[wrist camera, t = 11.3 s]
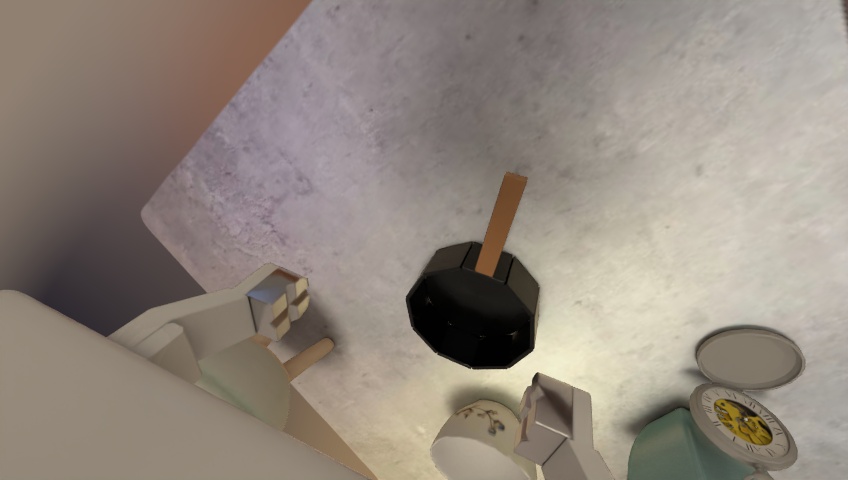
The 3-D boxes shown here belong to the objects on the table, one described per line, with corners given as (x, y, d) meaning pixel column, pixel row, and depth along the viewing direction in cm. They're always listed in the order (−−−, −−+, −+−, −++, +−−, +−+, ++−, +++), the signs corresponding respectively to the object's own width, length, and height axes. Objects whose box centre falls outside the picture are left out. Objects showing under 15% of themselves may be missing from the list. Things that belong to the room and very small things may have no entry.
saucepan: (449, 137, 28) (430, 152, 25) (607, 181, 26) (612, 206, 22) (414, 310, 41) (398, 337, 37) (519, 353, 38) (513, 387, 34)
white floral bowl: (448, 370, 44) (426, 426, 37) (548, 398, 40) (543, 467, 33) (450, 435, 51) (432, 491, 45) (535, 464, 47) (528, 531, 41)
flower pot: (614, 421, 38) (623, 512, 30) (676, 385, 32) (704, 485, 25) (688, 464, 37) (715, 568, 30) (764, 435, 31) (819, 552, 24)
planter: (360, 364, 51) (245, 541, 33) (282, 348, 57) (150, 488, 40) (327, 277, 44) (156, 445, 26) (242, 270, 50) (58, 399, 32)
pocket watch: (792, 319, 26) (890, 448, 18) (806, 395, 28) (896, 538, 20) (665, 331, 30) (697, 439, 22) (687, 396, 32) (722, 514, 24)
